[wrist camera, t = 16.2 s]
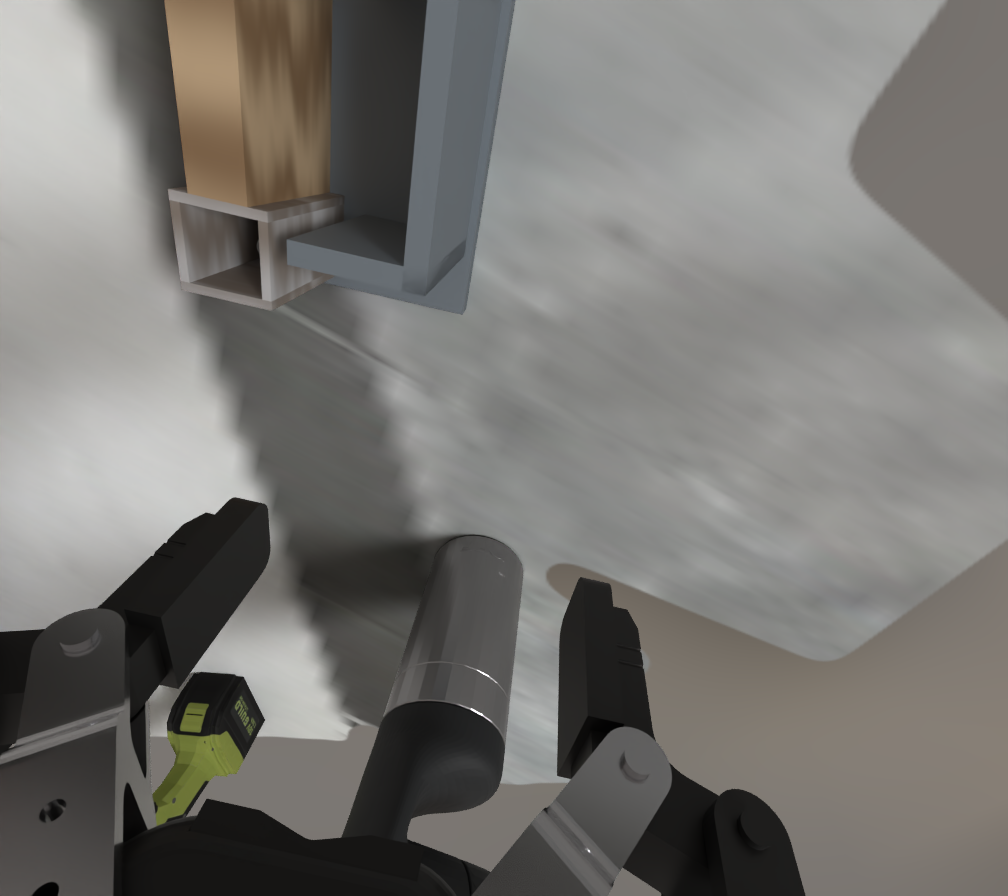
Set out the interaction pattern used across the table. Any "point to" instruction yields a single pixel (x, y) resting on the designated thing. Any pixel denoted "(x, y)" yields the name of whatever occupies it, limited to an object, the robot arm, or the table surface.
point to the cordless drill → (206, 739)
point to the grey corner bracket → (409, 145)
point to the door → (251, 143)
